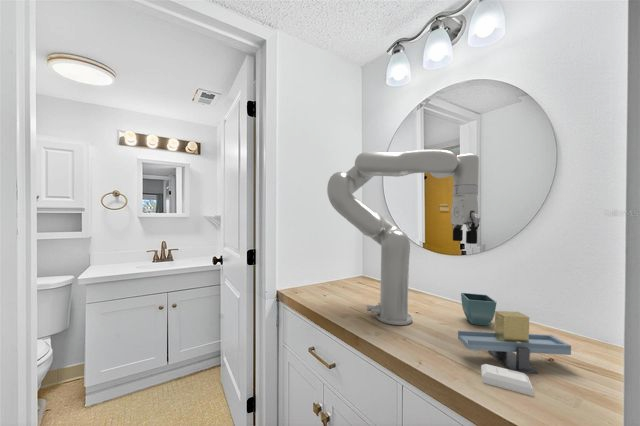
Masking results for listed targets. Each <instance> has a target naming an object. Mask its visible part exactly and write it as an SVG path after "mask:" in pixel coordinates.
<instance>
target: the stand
mask: <svg viewBox="0 0 640 426" xmlns="http://www.w3.org/2000/svg"><path fill="white" fill-rule="evenodd" d="M487 352H488V354H491V355H492V356H493V358H495V359H496V360H497V361H498V362H499V363H500V364H502V365H503V366H504V367H505V369H509V370H513V371H517V372H521V373H524V374H535V375H538V374H539V371H538V370H537V369H536V368H534V367H533V366H532V365H530V361H531V360H530V357H531V356H530V354H531V353H530V349H528V348H527V347H516V352H505V351H487Z"/></svg>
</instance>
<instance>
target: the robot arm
mask: <svg viewBox="0 0 640 426" xmlns="http://www.w3.org/2000/svg"><path fill="white" fill-rule="evenodd" d="M479 163H480V160H479V156H478V155H477V154H474V153H461V154H458V155H456V154H455V153H454V152H452V151H449V150H445V149H421V150H420V149H419V150H412V151H402V152H389V151H388V152H387V151H386V152H383V151H382V152H381V151H380V152H379V151H368V152H367V151H365V152H364V151H363V152H361V153H359V154H358V155H357V156H356V158H355V160H354V165H353V167H351V168H350V169H348V171H347V172H344V171H339V172H338V171H337V172H334V173H333V174H332V175H331V176H330V177H329V179H328V181H327V189H326V190H327V191H326V192H327V193H326V194H327V198H328V200H329V202H330V205H331V206H332V208H334V210H335V211H336V212H337V213H338V214H339V215H340V216H342V218H344V219H345V220H347V221H348V223H350V224H351V225H353V226H354V227H355V229H358V231H360V233H362V234H363V235H364V236H366V237H370V238H371V239H372V240H373V241H374V242H376V243H377V244H378V245H380V246H381V247H380V249H381V250H380V251H381V252H380V254H381V255H380V256H381V257H380V294H379V295H380V298H379V299H380V300H379V302H377V304H375V305H373V304H372V305H369V304H368V305H366V311H367V312H371V313H373V314H375V318H376V319H377V320H378V321H380V322H382V323H384V324H389V325H392V326H405V325H406V326H407V325H409V324H412V322H413V316H412V315H411V314H409V311H408V308H409V278H410V277H409V275H410V274H409V270H410V269H409V267H410V266H409V265H410V256H411V255H410V254H411V242H410V239H409V237H408V235H407V234H406V233H405V231H402V229H399V228H398V227H397V226H396V225H394V224H393V223H391V221H389V220H388V219H386V218H385V217H384V216H382V215H381V214H380V213H379V212H376V211H375V210H373V209H371V208H370V207H368V206H367V205H365V204H364V203H363V202H362V201H361V200H360V199H358V198H357V197H356V196H355V195H354V194H355V192H356V191H358V190H359V189H360V188H362V187H363V186H365V184H367V183H368V182H369V181H370V180H371V179H372V178H373V177H396V178H399V177H404V176H408V175H412V174H424V173H425V174H430V175H431V176H432V177H434V178H437V179H443V178H449V177H450V178H451V177H453V179H452V204H451V212H450V213H451V214H450V223H451V224H452V241H453V242H463V234H464V232H463V231H464V229H462V228H463V227H464V225H465V227H466V232H465V243H466V244H468V245H469V244H471V245H476V244H478V231H479V226H480V221H481V217H480V216H479V202H478V201H479V199H478V196H479V167H480V166H479V165H480V164H479Z"/></svg>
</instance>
